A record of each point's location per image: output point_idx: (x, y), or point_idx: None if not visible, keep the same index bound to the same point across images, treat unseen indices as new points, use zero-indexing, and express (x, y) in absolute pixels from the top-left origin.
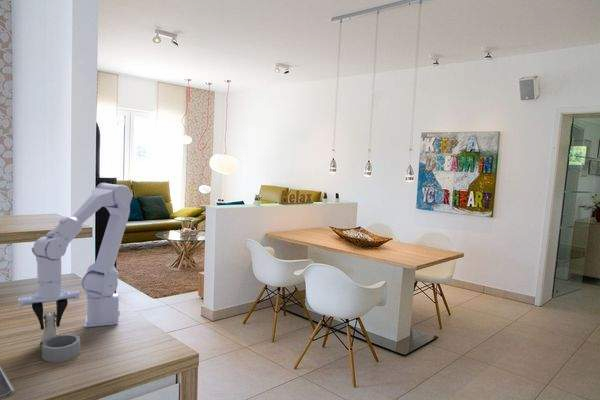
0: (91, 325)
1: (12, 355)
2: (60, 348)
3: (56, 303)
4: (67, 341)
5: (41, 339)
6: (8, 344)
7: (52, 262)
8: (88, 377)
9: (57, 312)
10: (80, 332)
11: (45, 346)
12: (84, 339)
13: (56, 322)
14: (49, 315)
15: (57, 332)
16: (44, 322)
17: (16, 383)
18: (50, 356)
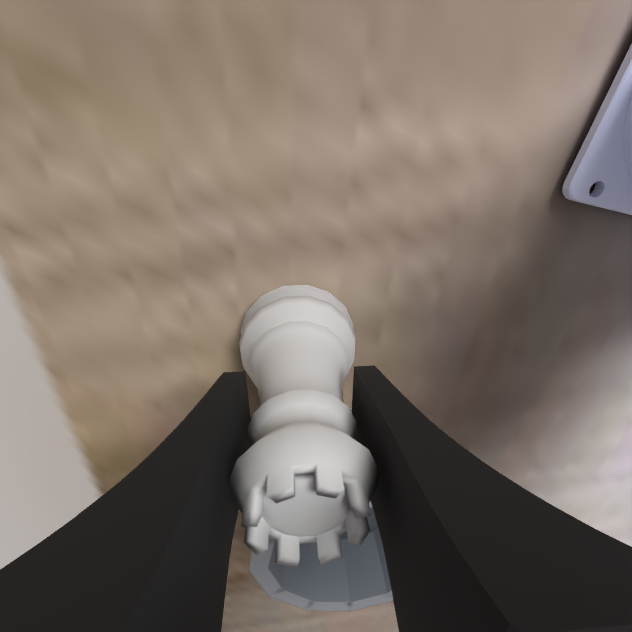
0: (612, 209)
1: (107, 432)
2: (333, 608)
3: (456, 599)
4: None
5: (243, 329)
6: (24, 273)
7: None
8: (390, 628)
9: (395, 575)
10: (497, 271)
11: (267, 585)
12: (477, 384)
13: (358, 424)
14: (298, 552)
15: (350, 351)
16: (250, 441)
17: None
18: None
